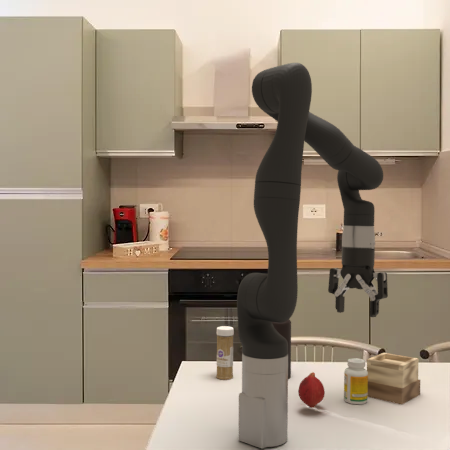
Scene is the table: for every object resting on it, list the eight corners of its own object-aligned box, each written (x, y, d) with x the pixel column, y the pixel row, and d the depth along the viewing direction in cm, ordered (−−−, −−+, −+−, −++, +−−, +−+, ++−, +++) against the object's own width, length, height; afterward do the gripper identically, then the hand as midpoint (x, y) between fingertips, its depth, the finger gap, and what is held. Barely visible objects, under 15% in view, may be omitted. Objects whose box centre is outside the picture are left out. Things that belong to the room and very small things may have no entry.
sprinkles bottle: (213, 379, 154) (213, 328, 153) (219, 374, 158) (220, 325, 158) (230, 381, 152) (230, 329, 152) (235, 376, 156) (236, 326, 156)
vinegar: (277, 382, 151) (277, 305, 150) (260, 376, 156) (260, 302, 156) (296, 378, 155) (296, 303, 154) (279, 372, 160) (279, 299, 160)
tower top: (402, 388, 135) (402, 365, 134) (366, 380, 140) (366, 359, 140) (418, 379, 141) (418, 358, 141) (383, 373, 147) (383, 352, 147)
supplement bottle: (339, 400, 137) (339, 359, 137) (353, 396, 140) (354, 356, 140) (357, 406, 133) (358, 364, 132) (372, 401, 136) (372, 360, 136)
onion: (304, 413, 128) (304, 376, 128) (294, 404, 134) (294, 369, 134) (328, 410, 130) (329, 374, 130) (317, 402, 135) (318, 368, 135)
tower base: (401, 406, 134) (401, 388, 134) (362, 396, 141) (362, 380, 141) (420, 396, 142) (420, 379, 141) (382, 387, 148) (382, 372, 148)
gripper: (323, 244, 139) (321, 312, 139) (378, 247, 129) (376, 320, 130) (340, 243, 145) (338, 309, 145) (394, 246, 135) (392, 316, 135)
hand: (356, 314), depth 137 cm, fingers open, 8 cm apart
